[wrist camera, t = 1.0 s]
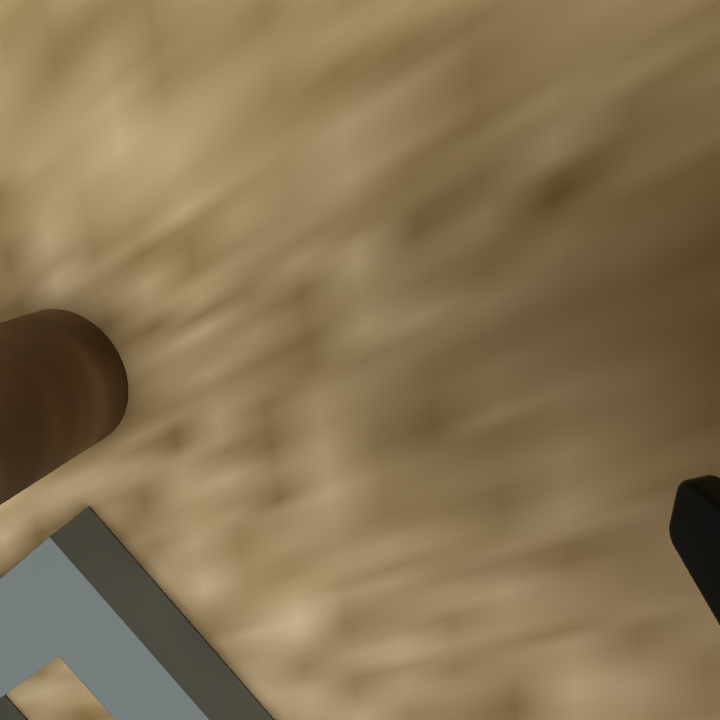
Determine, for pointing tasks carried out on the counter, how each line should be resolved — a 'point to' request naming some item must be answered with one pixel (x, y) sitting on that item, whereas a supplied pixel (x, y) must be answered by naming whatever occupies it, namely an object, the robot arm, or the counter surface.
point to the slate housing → (110, 633)
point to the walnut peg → (54, 394)
